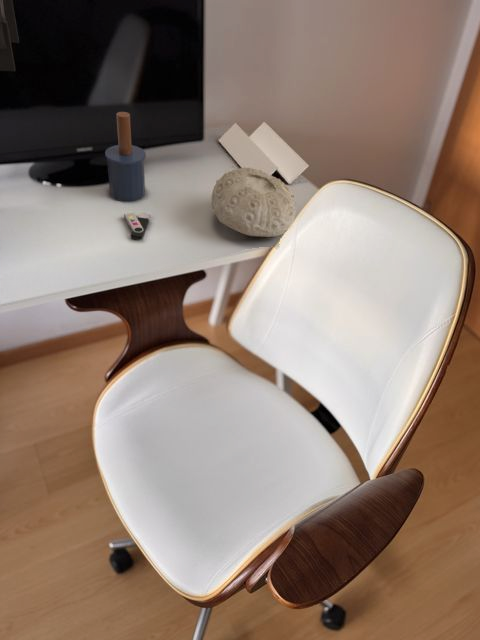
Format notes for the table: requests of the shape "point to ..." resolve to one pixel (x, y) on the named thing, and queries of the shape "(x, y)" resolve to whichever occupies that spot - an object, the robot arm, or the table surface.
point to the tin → (126, 181)
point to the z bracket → (263, 152)
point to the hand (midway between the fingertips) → (8, 55)
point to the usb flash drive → (137, 224)
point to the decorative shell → (253, 203)
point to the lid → (124, 144)
